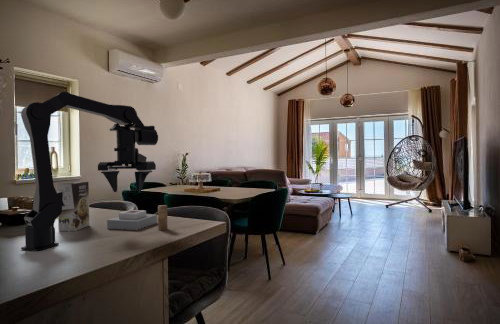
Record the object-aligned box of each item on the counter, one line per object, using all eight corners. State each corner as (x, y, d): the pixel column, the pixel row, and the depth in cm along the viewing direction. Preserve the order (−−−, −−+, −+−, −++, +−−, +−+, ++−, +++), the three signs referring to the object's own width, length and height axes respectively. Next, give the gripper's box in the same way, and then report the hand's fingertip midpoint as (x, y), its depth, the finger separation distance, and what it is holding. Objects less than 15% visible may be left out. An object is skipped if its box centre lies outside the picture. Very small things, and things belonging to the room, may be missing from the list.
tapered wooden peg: (164, 230, 108) (164, 206, 108) (156, 230, 109) (156, 206, 109) (169, 228, 111) (168, 205, 111) (161, 228, 112) (161, 205, 112)
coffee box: (76, 231, 110) (75, 183, 109) (57, 231, 110) (56, 183, 109) (90, 225, 119) (89, 181, 118) (73, 225, 119) (71, 181, 118)
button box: (137, 230, 109) (136, 215, 109) (107, 228, 113) (106, 214, 113) (157, 222, 121) (156, 209, 121) (129, 221, 124) (129, 208, 124)
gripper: (164, 145, 112) (165, 190, 113) (118, 146, 118) (119, 189, 118) (145, 144, 102) (146, 193, 102) (95, 145, 107) (97, 192, 107)
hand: (127, 192), depth 108 cm, fingers open, 9 cm apart
